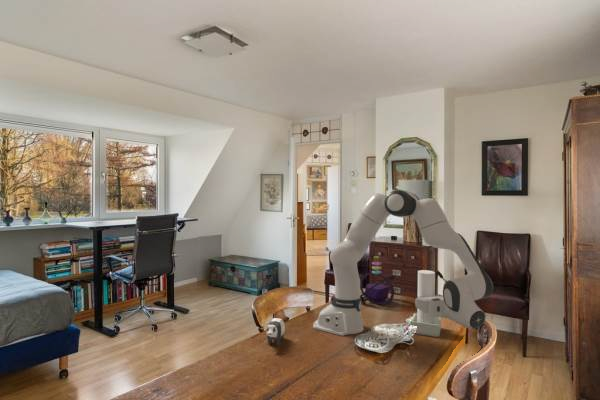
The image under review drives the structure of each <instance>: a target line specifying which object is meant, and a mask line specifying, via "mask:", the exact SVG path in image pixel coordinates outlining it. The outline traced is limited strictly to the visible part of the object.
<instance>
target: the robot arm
mask: <svg viewBox="0 0 600 400" xmlns="http://www.w3.org/2000/svg"><path fill="white" fill-rule="evenodd" d="M389 216H394V217H398V218H413V219H414V220H415V222H416V224H417V227H418V230H419V232H420V235H421V237H422V239H423V240H424V242H425V243H426V244H427V245H429V246H430V247H432V248H435V249H441V250H449V251H451V252H453V253H455V254H456V255H457V257H458V258H459V260H460V262H461V263H462V265H463V267H464V268H465V270H466V272H467V274H465V275H461V276H457V277H455V278H452V279H449V280H446V281H445V282H444V283H443V288H442V294H439V293H438V294H436V295H435V296H434V297H421V296H418V295H417V297H416V298H415V300H414V307H416V309H417V308H418V309H419V310H421V311H423V312H425V313H429V316H431V317H441V319H442V318H443V319H448V320H450V321H453V322H455V323H456V324H457V325H460V326H462V327H464V328H467V329H471V330H477V329H478V328H480V327H481V326H483V324H484V323H485V321H486V314H485V312H484V310H482V309H481V308H480V307H479V306H478V305H477V303H476V302H475V301H478V300H482V299H487V298H490V297H491V295H492V293H493V290H494V282H493V281H492V279H491V277H490V276H489V274H488V273H487V272H486V271H485V270H484V268H483V267H482V265H481V264H480V262H479V260H478V258H477V257H476V255H475V254H474V252H473V250H472V248H471V247H470V245H469V243H468V242H467V240H466V239H465V237H463V235H461V234H460V233H458V232H456V231H455V230H454V228H453V227H452V225H450V223H449V221H448V218H447V217H446V214H445V212H444V210H443V208H442V207H441V206H440V204H439V203H438V201H437V200H436V199H434V198H430V197H428V198H423V199H419V197H418V196H417V195H416V194H415V193H413V192H411V191H408V190H402V189H394V190H392V191H390V192H389V193H387V195H386V194H383V193H374V194H372V195H371V196H370V197H369V198H368V200H367V201H366V202H365V203H364V204H363V206H362V207H361V209H360V210H359V212H358V213H357V215H356V216H355V218H354V220H353V221H352V223H351V224H350V227H349V229H348V232H347V233H346V236H345V238H344V239H343V240H342V241H341V242H340V243H338V244H336V245H335V246H333V248H332V249H331V251H330V253H329V259H330V262H331V264H332V267H333V268H332V269H333V270H332V271H333V275H334V294H332V296H331V298H330V299H329V302H330V304H328V305H327V306H325V307H324V308H323V309H322V310H321V311H320V312H319V315H318V318H317V319H316V320H315V321H314V322H313V323H312V324H313V325H312V327H313V329H314V330H318V331H323V332H326V333H329V334H334V335H337V336H342V337H343V336H347V335H353V334H359V333H361V332H363V331H364V324H363V320H362V319H363V318H362V314H361V311H362V299H361V297H360V295H361V289H360V280H361V278H360V276H359V275H360V274H359V269H358V262H360V261H361V260H362V258H363V256H364V255H365V253H366V251H367V249H368V248H369V246H370V245H371V243H372V241H373V239H374V238H375V236H376V235H377V233H378V232H379V230H380V229H381V227H382V225H383V224H384V222H386V219H388V217H389Z"/></svg>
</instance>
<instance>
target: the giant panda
mask: <svg viewBox="0 0 600 400" xmlns="http://www.w3.org/2000/svg"><path fill="white" fill-rule="evenodd" d="M285 325H286V324H285V322H284V320H283V318H279V317H275V318H272V319H271V321H270V322H269V323H268V326H267V328H266V335H267V346H271V345H272V344H273V340H275V346H277V347H279V346H281V340H282V341H283V340H284V336H285V335H284V334H285V331H286V326H285Z"/></svg>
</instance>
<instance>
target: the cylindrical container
mask: <svg viewBox="0 0 600 400" xmlns="http://www.w3.org/2000/svg"><path fill="white" fill-rule="evenodd" d="M418 296H421V297H434V296H436V272H435V271H433V270H427V269H421V270H417V297H418ZM416 309H417V312H416V314H417V322H422V323H429V324H434V319H435V317H431V316H429V313H425V312H423V311H421V310H419V309H418V308H416Z"/></svg>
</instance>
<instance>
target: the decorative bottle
mask: <svg viewBox="0 0 600 400" xmlns="http://www.w3.org/2000/svg"><path fill="white" fill-rule="evenodd" d="M380 259H381V256H378V255H376V256H374V255H373V261H372V262H371V264H372V265H373V266H371V268H372V271H371V272H367V273H365V274H363V276H362V277H361V278H360V293H361V294H360V297H361V300H363V299H366V300H367V301H369V302H370V303H372V304H374V305H377V306H386V305H389V304H390V303H391V302H392V301H393V300H394V296H395V290H394V289H395V288H394V286H393V285H392V283H391V282H392V281H393V280H394V279H395V278H396V275H391V276H388V277H386V276H385V275H383V274H382V271H381V270H382V266H381V265H382V264H383V263H382V262H380ZM373 275H374V276H378V277H381V278H383V280H381V281H379V282H378V283H371V282H370V283H367V284H366V286H365V289H363V282H364V280H365V278H366V277H368V276H373ZM382 283H385V284H382ZM388 285H389V286H388ZM389 291H391V293H390V297H389ZM387 299H388V300H387Z"/></svg>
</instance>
